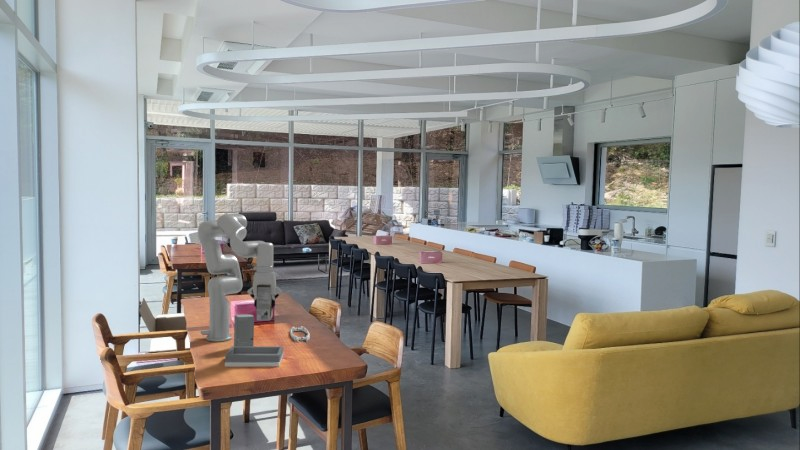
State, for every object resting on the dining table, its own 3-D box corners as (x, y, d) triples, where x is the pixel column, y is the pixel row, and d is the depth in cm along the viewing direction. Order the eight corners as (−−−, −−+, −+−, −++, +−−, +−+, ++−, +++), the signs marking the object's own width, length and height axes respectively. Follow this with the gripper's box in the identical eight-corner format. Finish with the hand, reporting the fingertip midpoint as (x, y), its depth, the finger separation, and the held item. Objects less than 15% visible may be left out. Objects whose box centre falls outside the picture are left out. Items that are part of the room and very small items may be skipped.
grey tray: (224, 366, 241) (224, 356, 241) (232, 355, 257) (232, 345, 257) (279, 366, 244) (279, 356, 243) (283, 355, 259) (283, 345, 259)
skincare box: (236, 350, 264) (236, 317, 263) (233, 346, 271) (233, 314, 270) (254, 348, 268) (254, 316, 267) (251, 344, 275) (251, 312, 274)
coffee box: (258, 315, 264) (259, 281, 262) (272, 315, 264) (273, 281, 263) (256, 320, 254) (256, 285, 253) (270, 320, 255) (270, 285, 254)
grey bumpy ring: (306, 329, 307) (312, 342, 283) (288, 330, 304) (292, 343, 280) (306, 325, 307) (312, 337, 283) (288, 325, 304) (292, 338, 280)
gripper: (244, 270, 253) (244, 309, 254) (283, 270, 255) (283, 309, 256) (246, 268, 260) (246, 306, 262) (284, 268, 263) (284, 306, 264)
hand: (264, 307), depth 259 cm, fingers closed on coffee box, 6 cm apart
